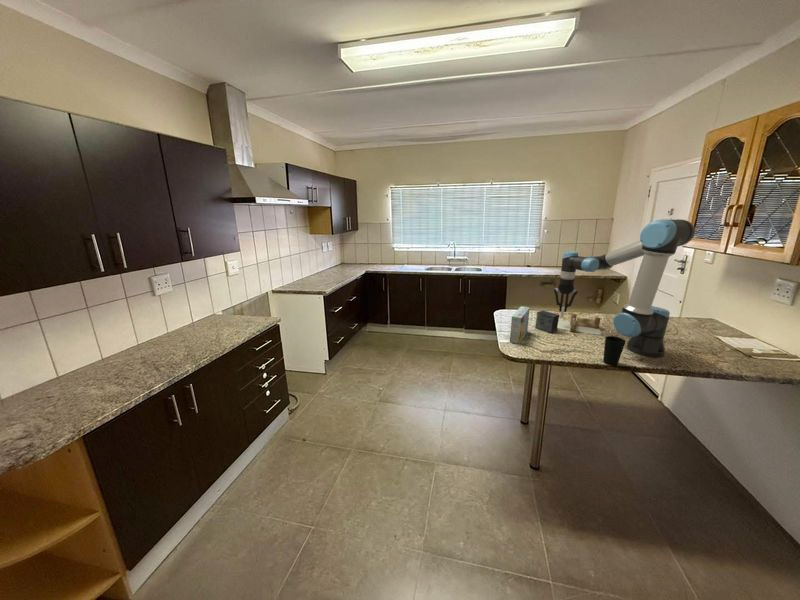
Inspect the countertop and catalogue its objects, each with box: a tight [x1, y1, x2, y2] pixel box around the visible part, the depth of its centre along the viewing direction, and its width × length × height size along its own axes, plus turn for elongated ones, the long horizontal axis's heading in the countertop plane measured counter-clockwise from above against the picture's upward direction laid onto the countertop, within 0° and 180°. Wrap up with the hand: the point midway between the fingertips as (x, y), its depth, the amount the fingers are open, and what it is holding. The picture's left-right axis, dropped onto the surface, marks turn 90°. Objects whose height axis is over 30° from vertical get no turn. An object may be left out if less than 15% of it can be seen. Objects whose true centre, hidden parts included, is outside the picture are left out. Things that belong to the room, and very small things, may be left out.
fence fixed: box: [569, 313, 602, 330], centre depth 187 cm, size 15×3×7 cm, turn 62°
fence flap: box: [569, 318, 577, 333], centre depth 183 cm, size 12×3×6 cm, turn 152°
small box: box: [534, 310, 560, 334], centre depth 181 cm, size 11×6×10 cm, turn 34°
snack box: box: [509, 306, 531, 345], centre depth 170 cm, size 21×6×15 cm, turn 147°
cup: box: [602, 335, 626, 367], centre depth 141 cm, size 8×8×12 cm
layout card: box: [557, 319, 601, 336], centre depth 188 cm, size 28×16×1 cm, turn 62°
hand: (561, 316), depth 185 cm, fingers closed
